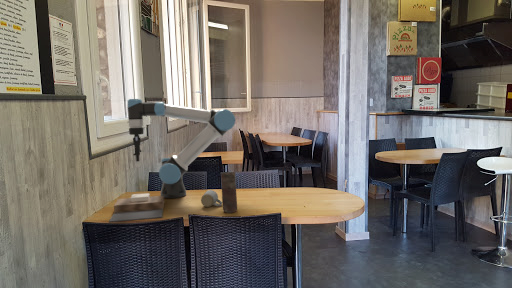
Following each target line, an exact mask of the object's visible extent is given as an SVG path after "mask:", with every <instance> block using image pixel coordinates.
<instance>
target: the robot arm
mask: <svg viewBox="0 0 512 288" xmlns="http://www.w3.org/2000/svg"><path fill="white" fill-rule="evenodd" d="M154 116H155V117H164V118H172V119H178V120H185V121H191V122H197V123H203V124H207V125H206V126H205V128H204V129H202V130H201V131H200V132H199V133H198V135H196V136H195V137H194V138H193V139H192V140H191V141H190V142H189V143H188V144H187V145H186V146H185V147H184V148H183V149H182V150H181V151H180V152H179V153H178V154H177V155H172V156H171V157H163V158H162V159H161V166H160V168H159V171H158V176H159V178H160V180H161V182H162V185H161V186H162V187H161V190H160V195H159V196H164V199H176V198H178V199H179V198H182V197H185V196H186V195H187V190H186V187H185V184H184V181H183V176H184V174H186V172H188V168H189V167H188V166H190V165H191V164H192V163H193V162H194V161H195V160H196V159H197V158H198V157H199V156H200V155H201V154H202V153H203V152H204V151H205V150H206V149H207V148H208V147H209V146H210V145H211V144H212V143H213V142H214V141H215V140H216V139H217V138H219V137H223V136H224V135H225V134H226V133H228V131H230V130H231V129H232V128H234V126H235V123H236V117H235V114H234V113H233V111H231V110H229V109H226V108H222V109H213V108H211V109H208V110H207V109H200V108H195V107H194V108H193V107H187V106H182V105H181V106H180V105H174V104H170V103H169V104H168V103H164V101H163V102H162V101H151V102H148V101H146V102H143V100H142V99H141V98H129V99H128V100H127V118H128V119H127V120H128V121H127V122H126V123H127V124H128V127H129V128H128V133H129V135H130V136H131V135H133V136H134V137H132V141H133V147H134V153H133V156H134V161H135V164H134V165H135V168H141V167H142V165H141V164H142V156H141V153H142V151H143V150H141V141H142V140H141V139H142V138H141V136H140V135H144V119H143V118H144V117H154Z"/></svg>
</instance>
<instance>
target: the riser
mask: <svg viewBox="0 0 512 288" xmlns="http://www.w3.org/2000/svg"><path fill="white" fill-rule="evenodd" d="M130 198H131V197H127V198H118V199H117V200H116V202H115V204H114V205H113V210H114V213H120V212H132V211H144V210H156V209H163V210H164V207H165V198H164V196H161V195H155V196H152V195H151V196H150V198H149V201H137V202H131V199H130ZM114 213H113V214H114Z"/></svg>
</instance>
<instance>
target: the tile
mask: <svg viewBox="0 0 512 288" xmlns="http://www.w3.org/2000/svg"><path fill="white" fill-rule="evenodd" d="M150 197H151V195H150V193H135V194H134V193H133V194H131V195H130V197H129V198H130V199H131V202H137V201H149V198H150Z"/></svg>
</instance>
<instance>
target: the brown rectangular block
mask: <svg viewBox="0 0 512 288" xmlns="http://www.w3.org/2000/svg"><path fill="white" fill-rule="evenodd" d="M220 179H221V180H220V183H221V202H222V205H221V206H222V210H223V212H225V213H228V214H232V213H235V212H236V211H238V199H237V183H236V181H237V180H236V179H237V178H236V172H235V171H232V172H228V171H225V172H220Z"/></svg>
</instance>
